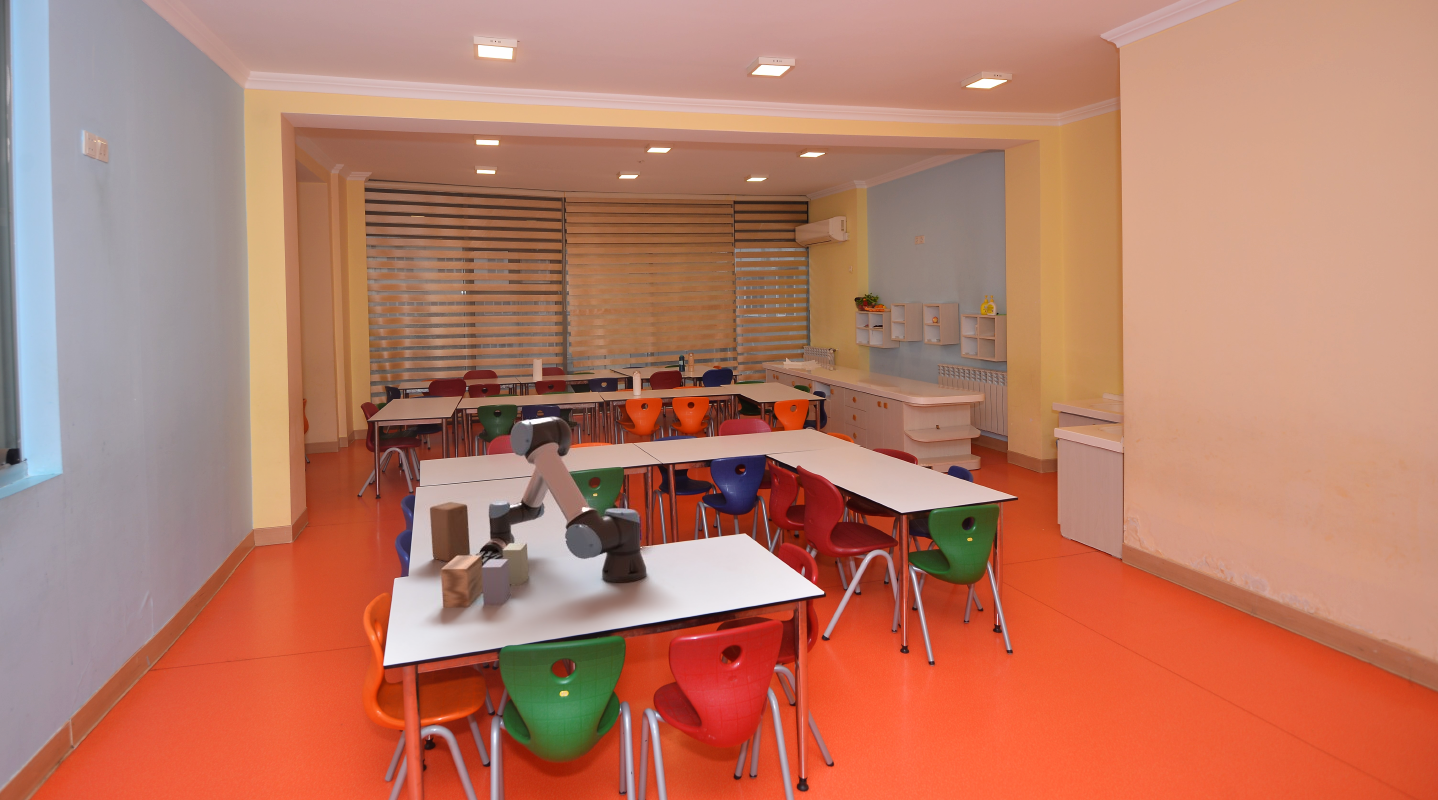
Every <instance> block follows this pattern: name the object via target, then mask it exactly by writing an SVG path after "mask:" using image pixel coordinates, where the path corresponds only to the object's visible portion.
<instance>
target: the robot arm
mask: <svg viewBox="0 0 1438 800" xmlns="http://www.w3.org/2000/svg"><path fill="white" fill-rule="evenodd" d="M509 441H510V442H509V443H510V446H511V449H512V451H513V453H514V454H515V455H516V456H520V457H522V456H524V457H525V460H526V461H527V463H528V464H530V465H534V466H535V467H534V469H533V472H532V475H531V477H530V480H529V481H528V484H527V487H526V488H525V491H524V493H523V495H522V496H523V497H522V498H521V500H520V501H519V502H516V503H512V504H510V502H509V501H507V500H499V501H497V500H496V501H493V502H491V503H490V504H489V506H488V519H489V521H488V522H489V537H490V538H489V539H490V540H489V541H487V542H486V543H485V544H484V545H482V547H481V548H480V550H479V552H478V553H476V554H475V555H481V556H482V566H483V565H484V564H486V563H487V562H488V561H489V560H490V559H503V549H504V548H505V547H506V546H507V545H508V544H509V543H516V542H515V541H516V540H515V539H516V538H515V536H514V535H513V533H512V526H513V525H518V524H521V523H525V522H528V521H529V522H530V521H534V520H536V519H540V518H541V517H542V516H544V514H545V509H546V508H545V507H546V506H545V504H544V502H543V501H544V499H545V498H546V495H547V493H548V491H549V492H550V494H551V496H552V497H553V499H554V500H555V503H556V504H557V506H558V508H559V509H560V511H561V512H562V515H563V516H564V518H565V519H566V525H565V529H566V531H565V534H564V536H565V537H564V538H565V544H566V546H567V549H568V550H569V552H570V553H571V554H572V555H573V556H575V557H576V558H578V559H582V560H585V559H586V560H587V559H589V558H591V559H592V558H596V557H598V556H600V555H603V554H606V555H605V559H604V562H603V566H602V570H601V575H602V576H601V577H602V579H603V580H605V581H607V582H612V583H631V582H636V581H640V580H641V579H644V578H645V577H646V576H647V565H646V564H645V561H644V559H643V558H644V557H643V556H642V552H641V541H640V529H641V528H640V521H639V516H640V514H639V512H638V511H636V510H635V509H631V508H630V509H629V508H619V507H618V508H613V507H612V508H606V509H605V511H604V516H602V517H601V515H600V513H599V512H598V510H597V509H596V508H592V507H590V506H589V504H588V501H586V498H585V497H584V496H583V493H582V492H581V490H580V489H579V487H578V485H577V483H576V482H575V480H574V478H573V477H572V475H571V473H570V471H569V470H568V468H567V466H566V465H565V463H564V461H563V458H564V457H566V456H567V454H569V451H570V448H571V446H572V442H573V434H572V429H571V427H570V426H569V424H568V423H567V421H565V420H564V419H563V418H561V417H557V416H547V417H541V418H534V419H525V420H521V421H520V420H519V421H518V422H516V423H515V424H514V425H513V427H512V429H511V432H510V439H509ZM468 556H469V555H468Z"/></svg>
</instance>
